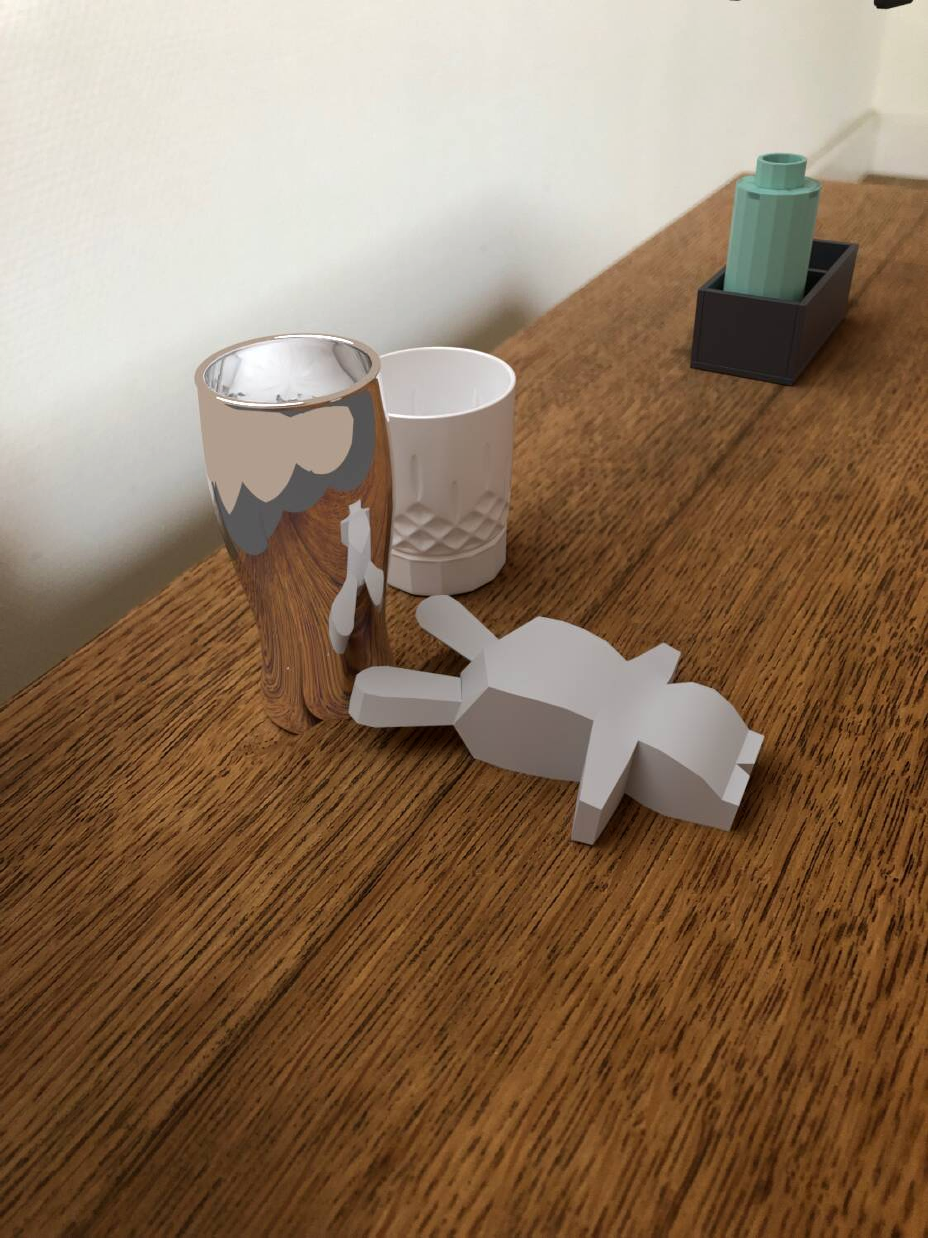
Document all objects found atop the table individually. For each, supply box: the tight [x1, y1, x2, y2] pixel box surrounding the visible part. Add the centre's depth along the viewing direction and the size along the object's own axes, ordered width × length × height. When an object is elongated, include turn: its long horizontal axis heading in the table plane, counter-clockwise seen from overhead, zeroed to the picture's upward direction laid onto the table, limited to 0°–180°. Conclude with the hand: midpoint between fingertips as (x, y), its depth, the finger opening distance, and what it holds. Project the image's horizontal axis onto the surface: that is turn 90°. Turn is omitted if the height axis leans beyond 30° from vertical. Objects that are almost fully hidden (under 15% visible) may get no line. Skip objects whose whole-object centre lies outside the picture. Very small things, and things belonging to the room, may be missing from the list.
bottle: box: [723, 152, 823, 302], centre depth 68 cm, size 5×5×12 cm
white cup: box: [379, 346, 517, 597], centre depth 50 cm, size 8×8×10 cm
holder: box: [689, 238, 860, 387], centre depth 73 cm, size 7×14×6 cm, turn 150°
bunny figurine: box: [349, 595, 765, 846], centre depth 40 cm, size 10×5×15 cm
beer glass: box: [193, 332, 399, 735], centre depth 40 cm, size 7×7×15 cm
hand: (816, 1), depth 59 cm, fingers open, 9 cm apart
